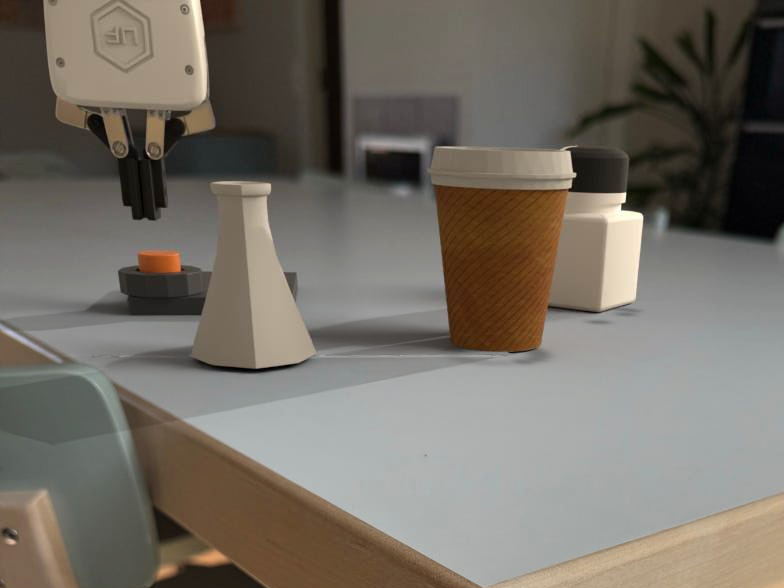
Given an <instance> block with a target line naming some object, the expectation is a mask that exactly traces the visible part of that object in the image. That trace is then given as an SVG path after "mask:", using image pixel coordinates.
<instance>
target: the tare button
mask: <svg viewBox="0 0 784 588" xmlns="http://www.w3.org/2000/svg"><path fill="white" fill-rule="evenodd" d="M137 263H138V264H137V265H139V271H140V272H148V273H168V272H179V271H181V266H180V265H181V259H180V253H179V252H178V251H173V250H144V251H139V252H137Z"/></svg>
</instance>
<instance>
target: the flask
mask: <svg viewBox="0 0 784 588" xmlns="http://www.w3.org/2000/svg"><path fill="white" fill-rule="evenodd" d="M210 190H211V193H212V194H213V195H215V197H216V201H217V211H218V212H217V213H218V231H217V241H216V242H217V243H216V252H215V260H214V263H213V267H212V270H211V272H212V275H211V279H210V283H209V287H208V292H207V296H206V300H205V304H204V307H203V311H202V314H201V316H200V318H199V322H198V326H197V329H196V331H195V336H194V339H193V345H192V348H191V352H190V357H191V358H194V359H195V360H199V361H201V362H203V363H206V364H209V365H211V366H220V367H230V368H244V369H264V368H270V367H271V368H272V367H279V366H285V365H286V366H287V365H294V364H299V363H301V362H304V361H305V360H307V359H309V358H311V357H313V356H315V355H316V354H317V351H316V348H315V346H314V343H313V341H312V338H311V335H310V333H309V331H308V329H307V327H306V325H305V322H304V320H303V318H302V315H301V313H300V310H299V309H298V307H297V303H295V301H294V299H293V296H292V294H291V291H290V289H289V286H288V284H287V281H286V279H285V276H284V273H283V272H284V271H283V268H282V266H281V263H280V261H279V258H278V256H277V252H276V248H275V244H274V240H273V236H272V232H271V228H270V223H269V213H268V203H267V201H268V196H270V195H271V192H272V184H271V183H270V182H261V181H241V180H234V181H231V180H229V181H228V180H227V181H225V180H224V181H223V180H222V181H213V182H210Z"/></svg>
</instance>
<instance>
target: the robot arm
mask: <svg viewBox="0 0 784 588" xmlns="http://www.w3.org/2000/svg"><path fill="white" fill-rule="evenodd" d="M43 16H44V29H45V43H46V44H45V46H46V54H47V56H46V57H47V66H48V72H49V79H50V83H51V87H52V90H53V92H54V94H55V95H56V104H55V117H56V119H57V120H58V122H60V123H62V124H66V125H70V126H72V127H76V128H79V129H81V130H86V131H89V132H92V133H93V134H94V135H95V136H96V138H97V139H99V141H101V142H102V143H103V144H104V145H105V146H106V147H107V149H109V151H111V153H112V154H113V156H114V157H115V158H117V164H118V174H119V182H120V191H121V193H120V194H121V200H122V205H123V207H129V208H130V209H131V210H130V211H131V218H132V220H133V221H142V220H143V219H147V220H148V221H155V222H156V221H158V220H160V219H161V218H162V210H161V209H167V208H168V207H169V197H168V186H167V176H166V175H167V174H166V164H165V158H166V157H167V156H168V155H169V154H170V152H171V151H172V149H174V148H175V146H177V144H179V142H180V141H181V140H182V139H183V138H184V137H185V136H189V135H195V134H198V133H202V132H208V131H211V130H214V129H215V127H216V125H217V123H216V118H215V115H214V114H215V113H214V111H213V108H212V104H211V101H210V72H209V62H208V52H207V43H206V42H207V41H206V36H205V26H204V20H203V13H202V5H201V0H43ZM84 107H94V108H100V112H101V113H99V112H95V111H92V110H89V109H86V108H84ZM127 109H133V110H146V130H145V131H146V132H145V147H144V148H143V149H142V158H141V157H140V154H139V149H138V147H136V146H135V142H134V138H133V134H132V129H131V126H130V122H129V118H128V113H127ZM172 112H189V113H188V114H184V115H180V116H176V117H172V118H171V115H172V114H171V113H172Z"/></svg>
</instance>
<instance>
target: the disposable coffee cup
mask: <svg viewBox="0 0 784 588" xmlns="http://www.w3.org/2000/svg"><path fill="white" fill-rule="evenodd" d="M426 170H427V173H428V174H430V183H431V184H433V185H434V194H435V195H434V196H435V204H436V205H435V206H436V215H437V225H438V233H439V242H440V244H439V245H440V253H441V264H442V273H443V282H444V292H445V302H446V311H447V323H448V329H449V330H448V331H449V342H450V343H451V344H452V345H454V346H457V347H460V348H463V349H469V350H474V351H485V352H507V353H514V352H524V351H531V350H535V349H537V348H539V347H540V346H542V341H543V336H544V330H545V324H546V319H547V312H548V307H549V306H548V302H549V296H550V290H551V286H552V279H553V273H554V267H555V261H556V256H557V250H558V245H559V238H560V233H561V227H562V222H563V216H564V210H565V205H566V198H567V194H568V188H571V186H572V178H574V177H576V173H573V170H572V162H571V154H570V151H566V150H560V149H549V148H526V147H525V148H524V147H500V146H499V147H497V146H495V147H494V146H493V147H492V146H450V145H449V146H434V150H433V153H432V159H431V164H430V167H427V168H426Z"/></svg>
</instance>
